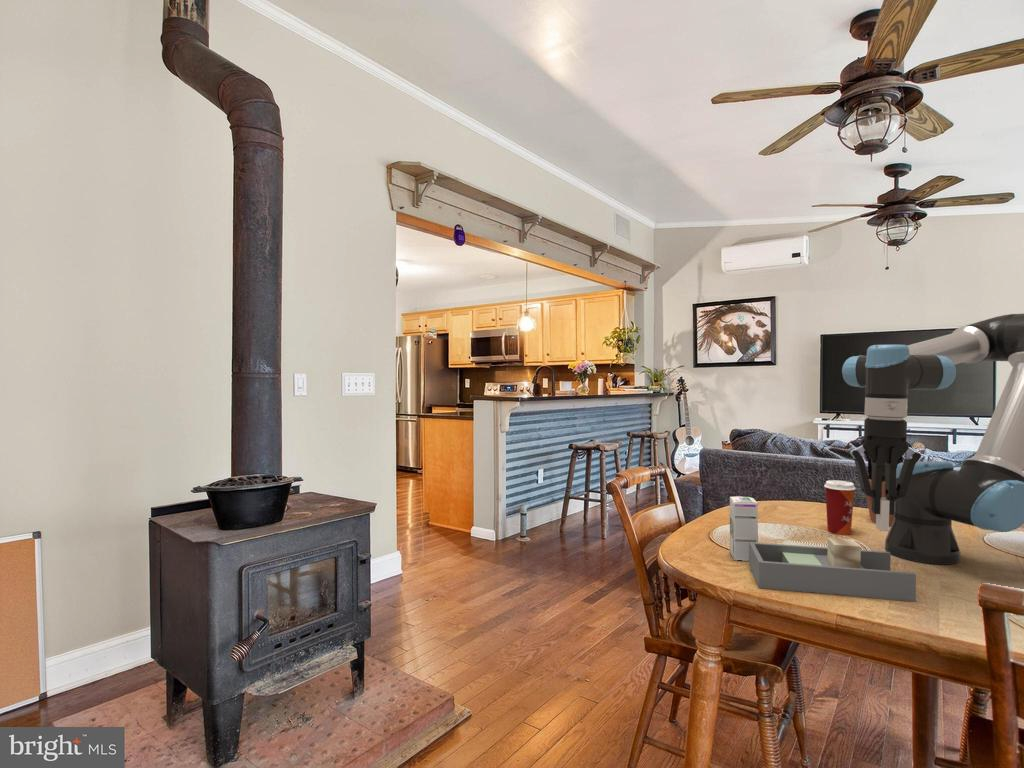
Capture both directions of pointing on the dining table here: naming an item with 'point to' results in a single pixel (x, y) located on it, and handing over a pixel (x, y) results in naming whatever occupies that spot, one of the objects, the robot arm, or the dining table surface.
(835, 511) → the paper cup
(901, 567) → the dining table surface
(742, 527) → the syrup box
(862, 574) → the trap lane
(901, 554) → the robot arm
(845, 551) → the birch block
